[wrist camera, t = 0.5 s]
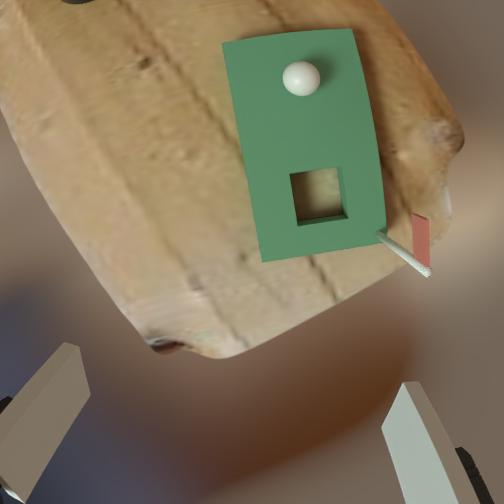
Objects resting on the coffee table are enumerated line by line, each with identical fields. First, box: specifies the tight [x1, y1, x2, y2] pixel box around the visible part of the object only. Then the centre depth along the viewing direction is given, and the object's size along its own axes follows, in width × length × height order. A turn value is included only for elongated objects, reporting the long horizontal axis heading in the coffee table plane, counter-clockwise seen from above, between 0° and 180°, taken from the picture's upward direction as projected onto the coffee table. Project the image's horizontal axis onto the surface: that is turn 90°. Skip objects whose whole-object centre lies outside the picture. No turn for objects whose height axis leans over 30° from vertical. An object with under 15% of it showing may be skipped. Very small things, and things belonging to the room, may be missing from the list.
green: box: [222, 29, 387, 262], centre depth 31 cm, size 24×14×2 cm, turn 10°
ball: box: [283, 61, 320, 96], centre depth 27 cm, size 4×4×4 cm
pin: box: [375, 213, 433, 277], centre depth 26 cm, size 4×1×12 cm, turn 10°
